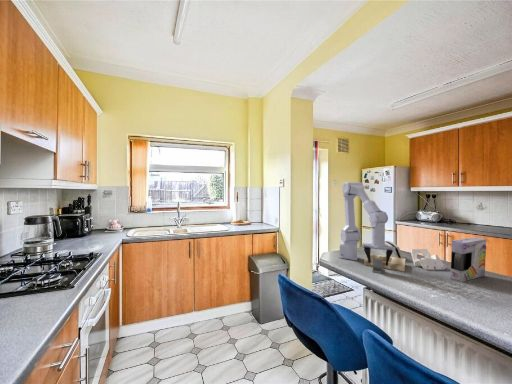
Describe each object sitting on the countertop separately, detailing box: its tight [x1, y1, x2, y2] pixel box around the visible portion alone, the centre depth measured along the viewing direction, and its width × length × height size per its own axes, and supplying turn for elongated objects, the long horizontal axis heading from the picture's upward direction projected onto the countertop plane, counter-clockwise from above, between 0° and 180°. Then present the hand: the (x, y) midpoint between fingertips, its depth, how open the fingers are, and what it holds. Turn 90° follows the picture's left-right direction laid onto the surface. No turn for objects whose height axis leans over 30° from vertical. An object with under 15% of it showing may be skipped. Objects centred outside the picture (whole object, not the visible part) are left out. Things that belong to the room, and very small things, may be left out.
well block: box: [364, 253, 406, 272], centre depth 128 cm, size 18×13×3 cm
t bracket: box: [371, 258, 384, 274], centre depth 119 cm, size 4×7×6 cm, turn 147°
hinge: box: [381, 240, 407, 262], centre depth 144 cm, size 17×5×10 cm, turn 178°
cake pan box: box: [450, 236, 487, 283], centre depth 110 cm, size 19×5×18 cm, turn 112°
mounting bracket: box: [410, 248, 447, 271], centre depth 124 cm, size 12×6×11 cm, turn 91°
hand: (378, 264), depth 119 cm, fingers open, 7 cm apart
